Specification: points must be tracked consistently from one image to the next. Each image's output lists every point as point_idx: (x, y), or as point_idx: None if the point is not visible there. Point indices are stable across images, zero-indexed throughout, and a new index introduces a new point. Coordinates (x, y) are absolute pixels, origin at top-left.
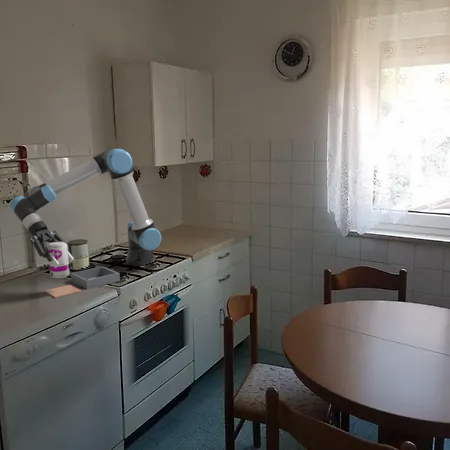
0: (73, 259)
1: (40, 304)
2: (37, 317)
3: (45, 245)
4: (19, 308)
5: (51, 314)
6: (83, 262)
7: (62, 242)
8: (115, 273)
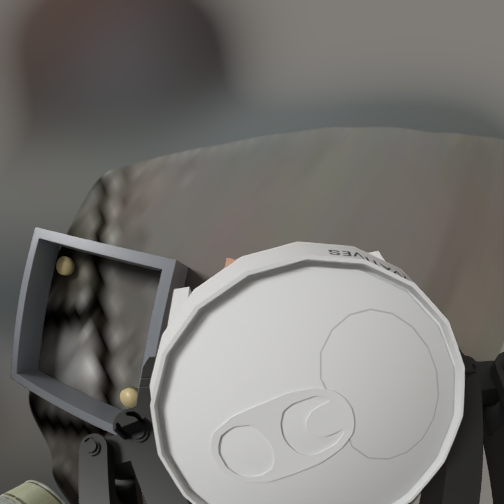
0: (180, 291)
1: (428, 266)
2: (474, 164)
3: (463, 479)
4: (484, 293)
5: (439, 146)
6: (32, 494)
7: (182, 435)
8: (43, 237)
